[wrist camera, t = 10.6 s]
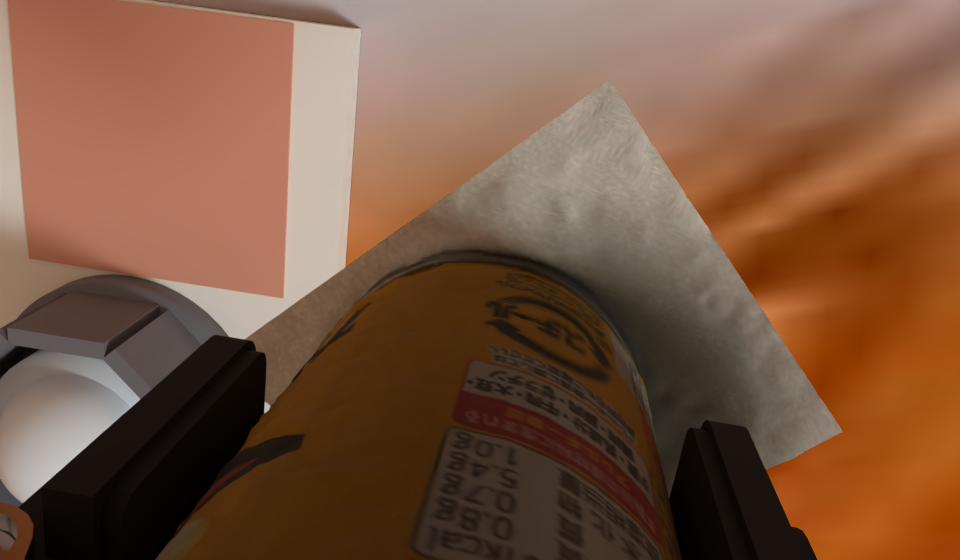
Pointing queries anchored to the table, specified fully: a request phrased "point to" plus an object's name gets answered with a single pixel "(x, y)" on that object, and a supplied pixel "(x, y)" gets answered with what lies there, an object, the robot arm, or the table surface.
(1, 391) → the dome
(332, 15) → the table surface
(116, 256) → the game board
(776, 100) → the table surface
